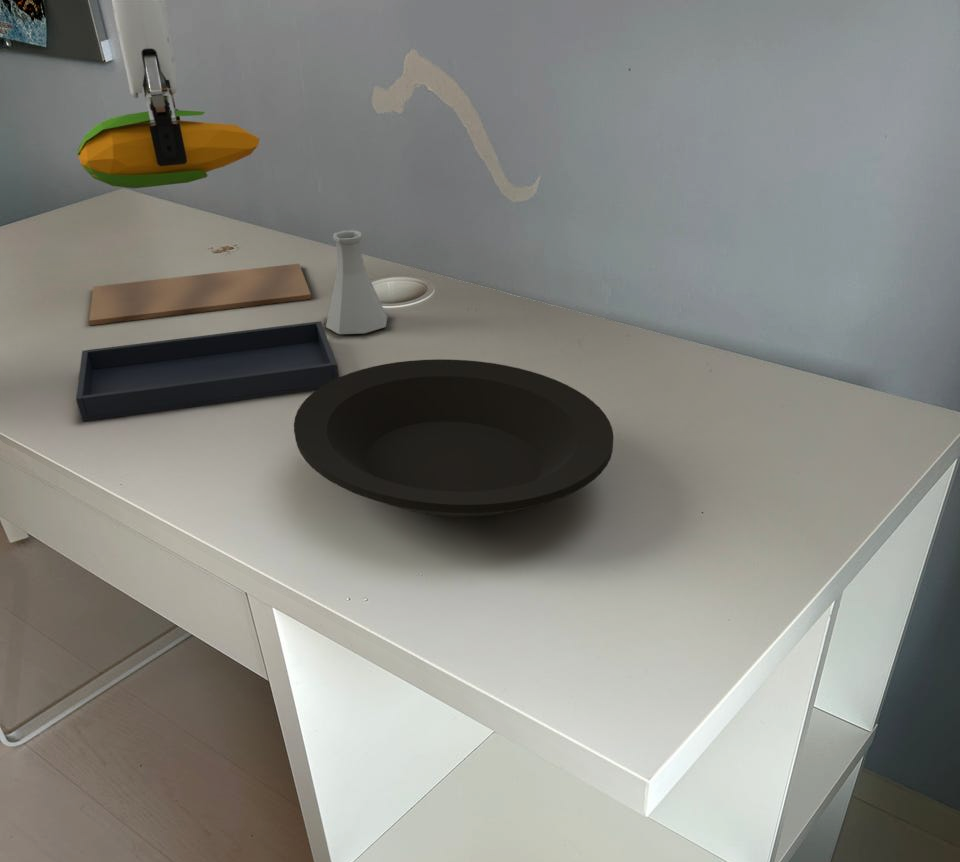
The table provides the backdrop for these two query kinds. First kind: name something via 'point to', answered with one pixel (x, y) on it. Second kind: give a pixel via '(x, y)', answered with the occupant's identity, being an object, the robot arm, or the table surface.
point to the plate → (453, 436)
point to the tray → (203, 370)
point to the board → (197, 293)
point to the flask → (353, 290)
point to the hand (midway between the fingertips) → (171, 155)
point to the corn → (131, 156)
